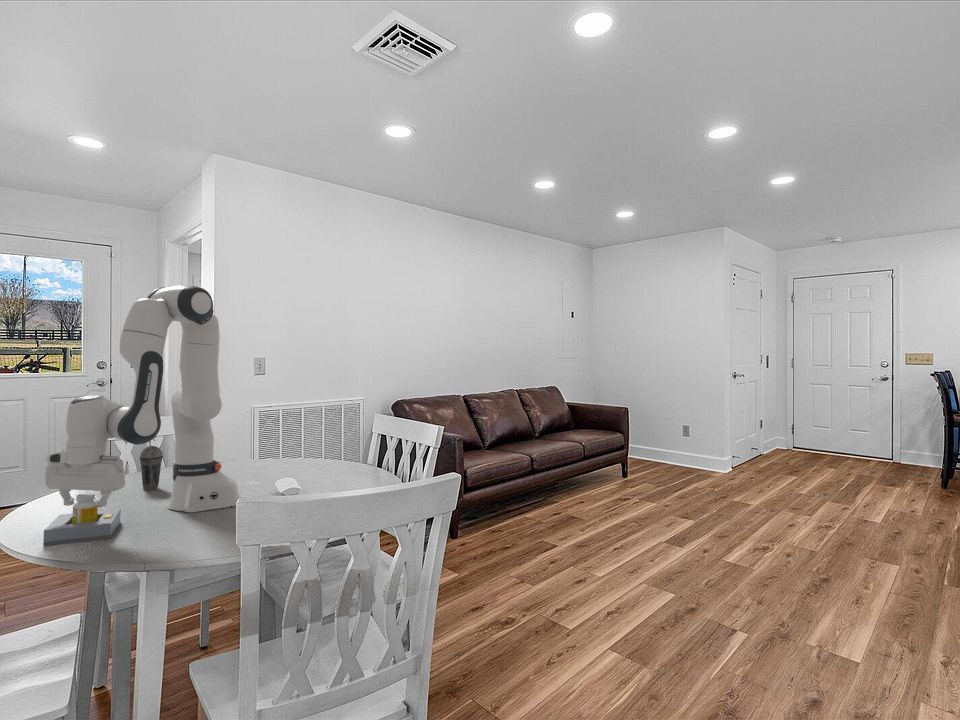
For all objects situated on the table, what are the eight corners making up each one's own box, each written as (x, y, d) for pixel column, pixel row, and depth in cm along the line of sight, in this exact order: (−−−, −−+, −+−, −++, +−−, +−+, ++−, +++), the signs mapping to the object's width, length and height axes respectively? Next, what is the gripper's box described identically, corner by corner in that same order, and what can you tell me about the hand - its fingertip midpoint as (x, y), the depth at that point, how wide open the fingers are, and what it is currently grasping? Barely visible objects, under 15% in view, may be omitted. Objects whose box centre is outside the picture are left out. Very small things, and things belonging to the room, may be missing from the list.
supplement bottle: (67, 533, 135) (67, 497, 135) (81, 526, 140) (81, 492, 140) (88, 532, 135) (89, 497, 136) (101, 526, 141) (102, 492, 141)
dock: (120, 522, 147) (120, 507, 147) (110, 538, 135) (110, 522, 135) (59, 528, 141) (59, 513, 141) (43, 545, 128) (43, 529, 128)
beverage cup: (167, 486, 188) (168, 433, 188) (152, 491, 180) (153, 435, 180) (148, 485, 188) (150, 432, 188) (133, 490, 181) (134, 435, 181)
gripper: (131, 454, 140) (130, 503, 140) (61, 451, 142) (60, 501, 142) (113, 458, 134) (112, 510, 134) (40, 456, 135) (39, 507, 135)
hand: (85, 505), depth 138 cm, fingers open, 8 cm apart
